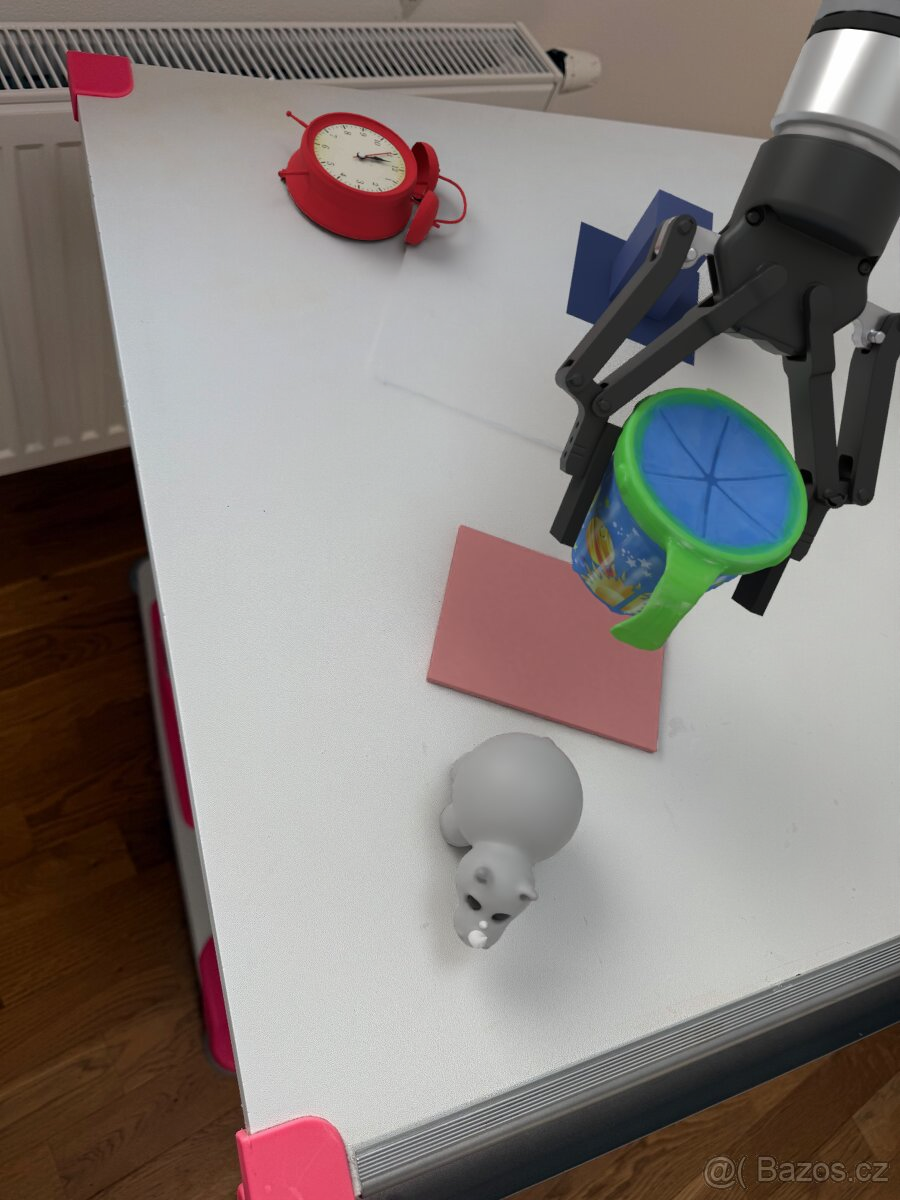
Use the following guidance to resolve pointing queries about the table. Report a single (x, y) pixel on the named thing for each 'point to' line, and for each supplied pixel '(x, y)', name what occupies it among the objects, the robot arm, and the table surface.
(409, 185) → the alarm clock
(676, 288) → the navy block
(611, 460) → the snack cup
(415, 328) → the table surface
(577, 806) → the chubby cartoon animal
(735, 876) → the table surface
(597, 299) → the navy mat
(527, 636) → the rose mat
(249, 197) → the table surface
